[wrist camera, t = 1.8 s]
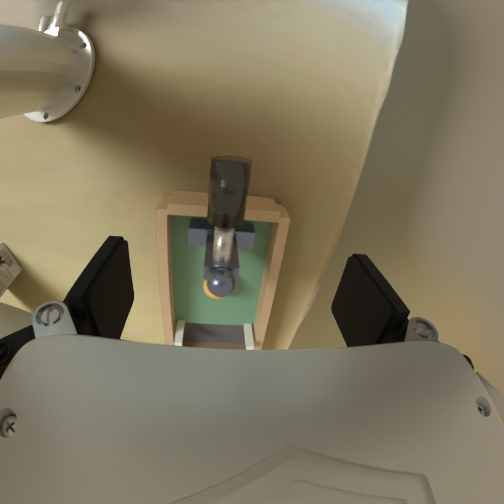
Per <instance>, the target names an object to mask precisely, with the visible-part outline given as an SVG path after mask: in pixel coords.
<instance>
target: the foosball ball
mask: <svg viewBox="0 0 504 504" xmlns="http://www.w3.org/2000/svg"><path fill="white" fill-rule="evenodd" d="M206 281H207V280H204V282H203V289H204V292H205V293H206V295H207V296H208V297H210V298H212V299H216V300H219V299H223V298H225V297H226V296H225V297H217V296H215V295H213V294H212V293H211V292H210V291H209V290H208V288H207V283H206Z"/></svg>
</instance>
